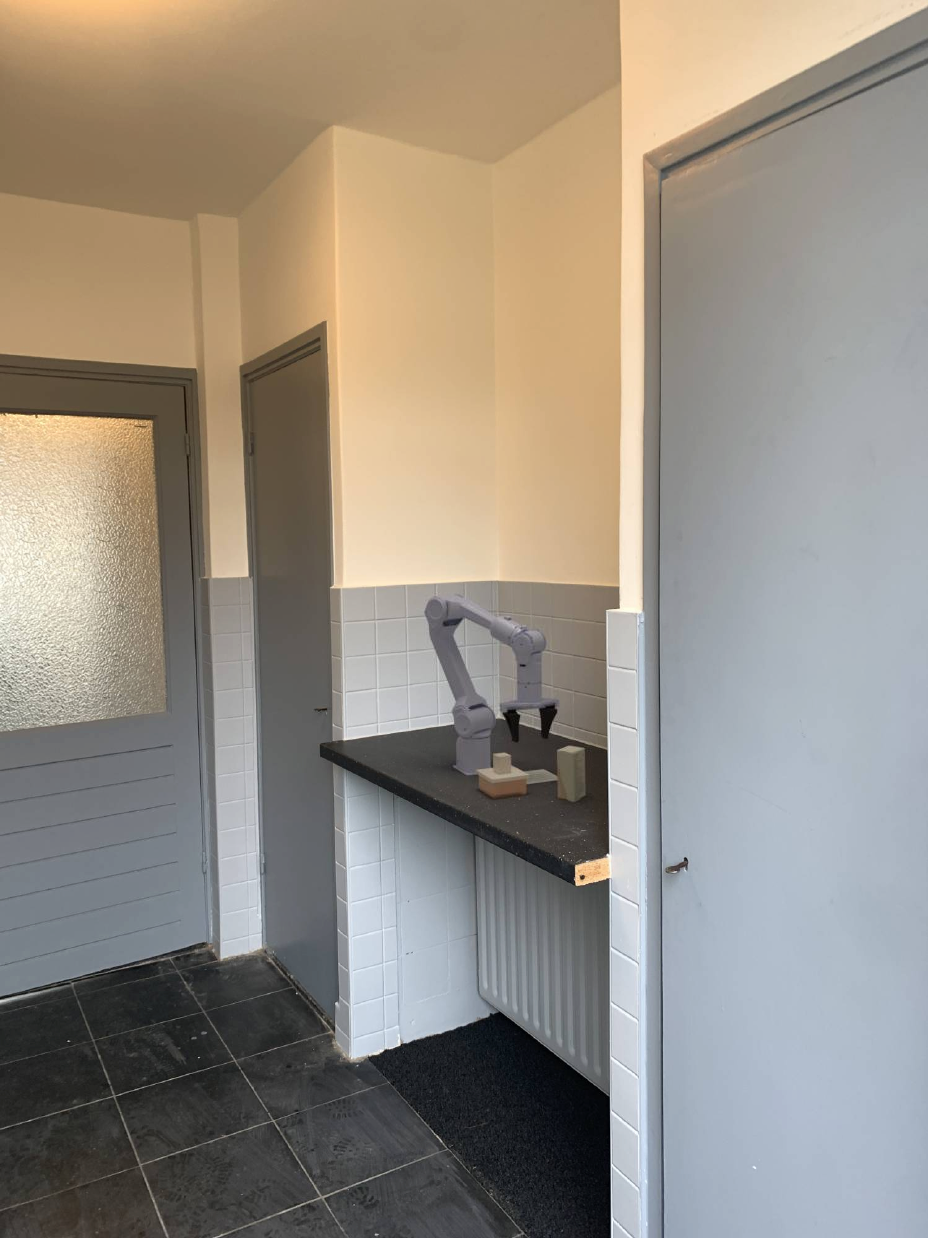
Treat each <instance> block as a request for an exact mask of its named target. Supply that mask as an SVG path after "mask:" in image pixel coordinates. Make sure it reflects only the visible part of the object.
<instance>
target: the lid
mask: <svg viewBox="0 0 928 1238" xmlns="http://www.w3.org/2000/svg"><path fill="white" fill-rule="evenodd" d="M492 758H493V759H492V763H493V764H492V765H493V767H492V768H487V769H479V770H476V775H478V777H479V776H481V777H483V778H484V779H486V780H488V781H489V782H491V783H498V782H505V781H513V780H520V779H528V778H529V774H527V773H525V772H526V771H523V770H521V769H519V768H518V767H516V766H514V765H512V755H511V754H508V753H506V752H500V753H499V752H498V753H493V754H492Z"/></svg>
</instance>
